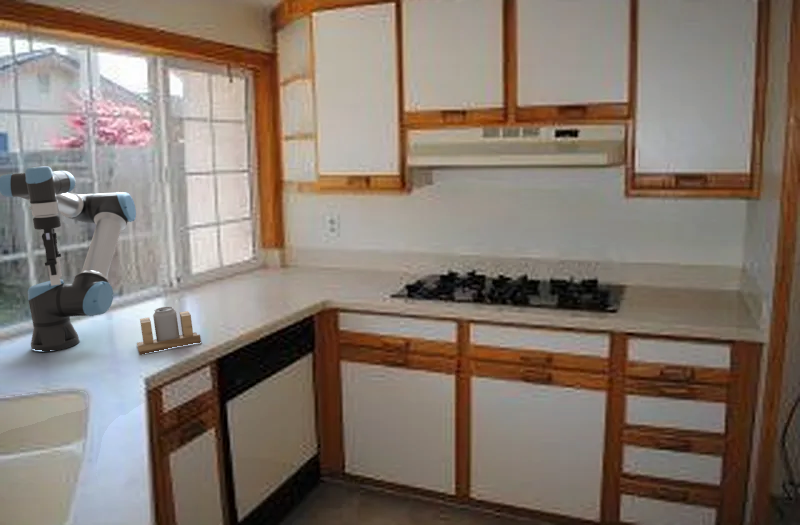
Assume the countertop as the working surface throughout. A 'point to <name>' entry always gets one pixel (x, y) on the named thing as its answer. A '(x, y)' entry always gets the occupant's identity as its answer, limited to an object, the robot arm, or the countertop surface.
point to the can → (166, 324)
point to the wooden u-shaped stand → (153, 345)
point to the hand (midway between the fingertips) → (56, 281)
